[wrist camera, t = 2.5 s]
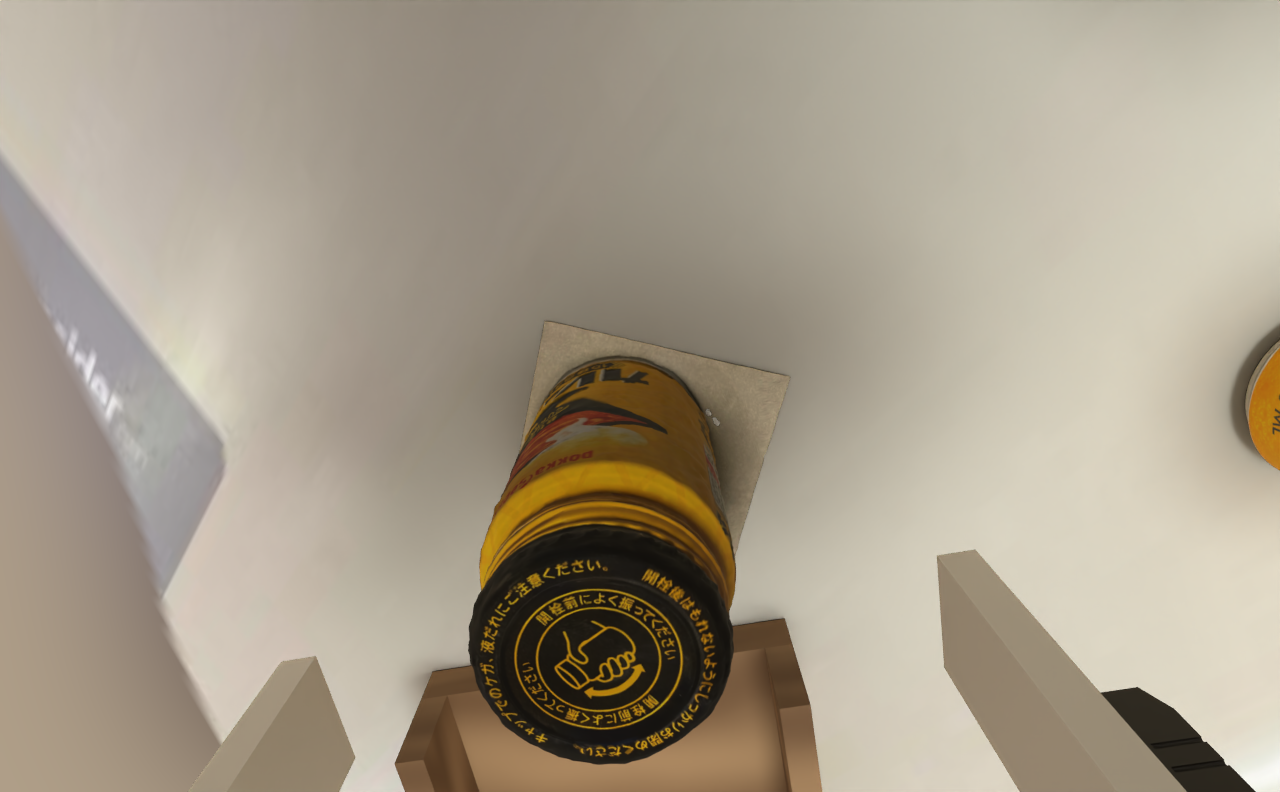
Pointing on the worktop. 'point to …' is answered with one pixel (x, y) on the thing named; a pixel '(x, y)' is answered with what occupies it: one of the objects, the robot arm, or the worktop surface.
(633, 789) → the wooden serving tray
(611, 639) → the condiment
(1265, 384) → the beer can
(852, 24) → the worktop surface
